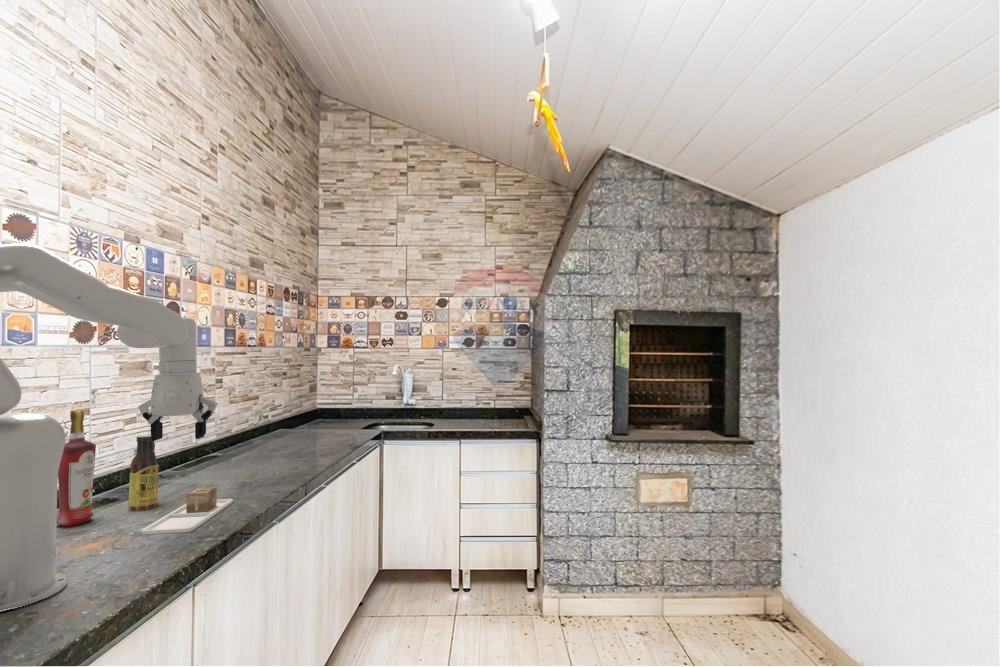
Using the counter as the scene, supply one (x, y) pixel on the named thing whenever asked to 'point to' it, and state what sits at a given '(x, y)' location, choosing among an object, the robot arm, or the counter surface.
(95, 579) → the counter surface
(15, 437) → the robot arm
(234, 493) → the counter surface
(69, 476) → the liquor
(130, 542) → the counter surface
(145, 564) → the counter surface
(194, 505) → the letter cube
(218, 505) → the tray
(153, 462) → the sauce bottle
